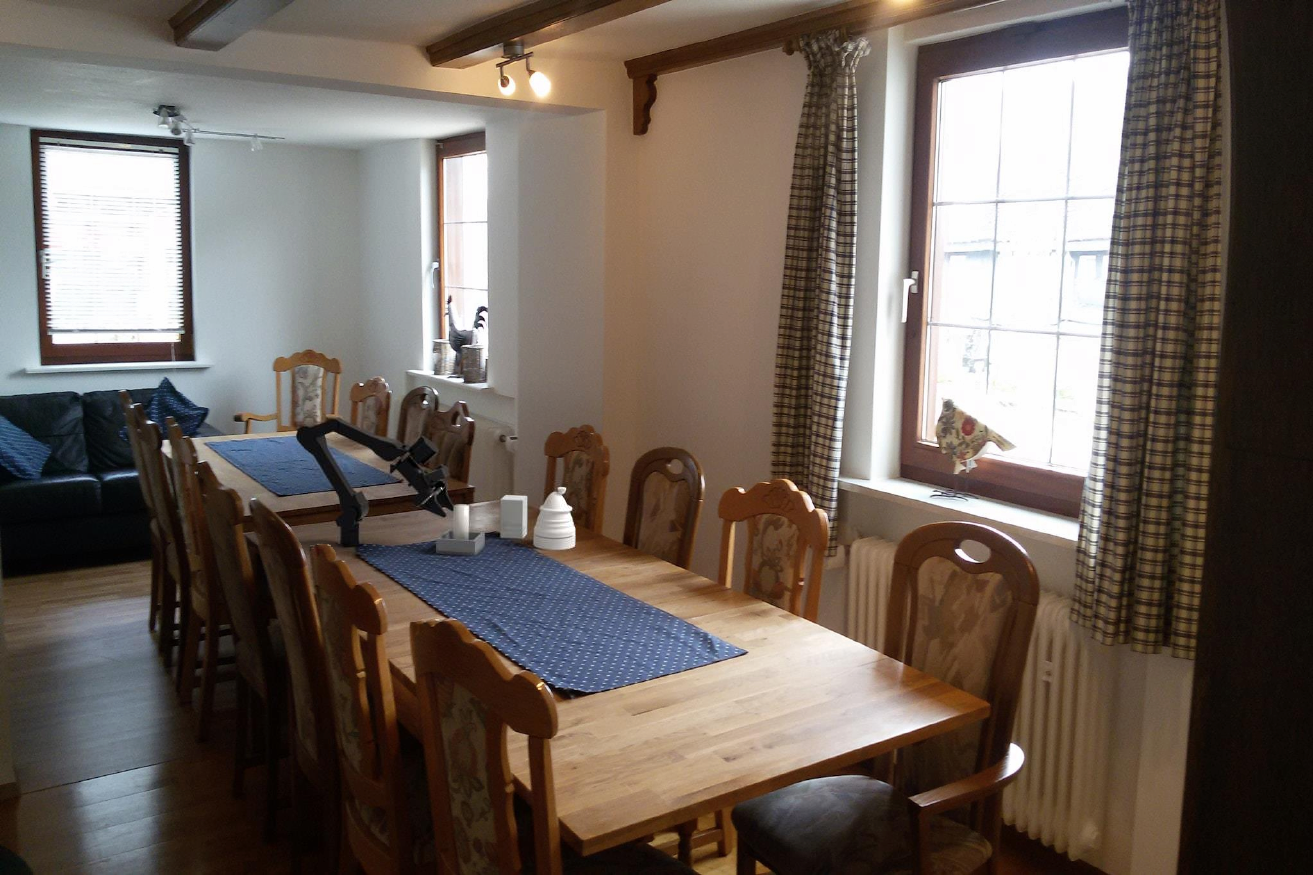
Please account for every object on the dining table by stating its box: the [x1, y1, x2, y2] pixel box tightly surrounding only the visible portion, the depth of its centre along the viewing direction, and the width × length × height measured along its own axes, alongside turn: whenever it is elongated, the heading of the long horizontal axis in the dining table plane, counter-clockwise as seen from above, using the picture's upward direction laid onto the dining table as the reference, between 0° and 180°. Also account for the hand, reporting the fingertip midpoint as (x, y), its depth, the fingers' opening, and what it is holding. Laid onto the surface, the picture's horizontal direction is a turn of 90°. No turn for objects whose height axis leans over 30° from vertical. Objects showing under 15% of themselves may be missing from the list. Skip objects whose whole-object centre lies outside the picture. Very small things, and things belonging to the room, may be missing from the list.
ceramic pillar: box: [452, 504, 470, 540], centre depth 314 cm, size 5×5×12 cm
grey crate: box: [435, 529, 486, 557], centre depth 314 cm, size 12×12×4 cm
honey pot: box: [533, 486, 576, 551], centre depth 324 cm, size 13×13×18 cm
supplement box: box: [499, 494, 528, 540], centre depth 334 cm, size 7×7×13 cm
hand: (449, 513), depth 313 cm, fingers open, 9 cm apart
